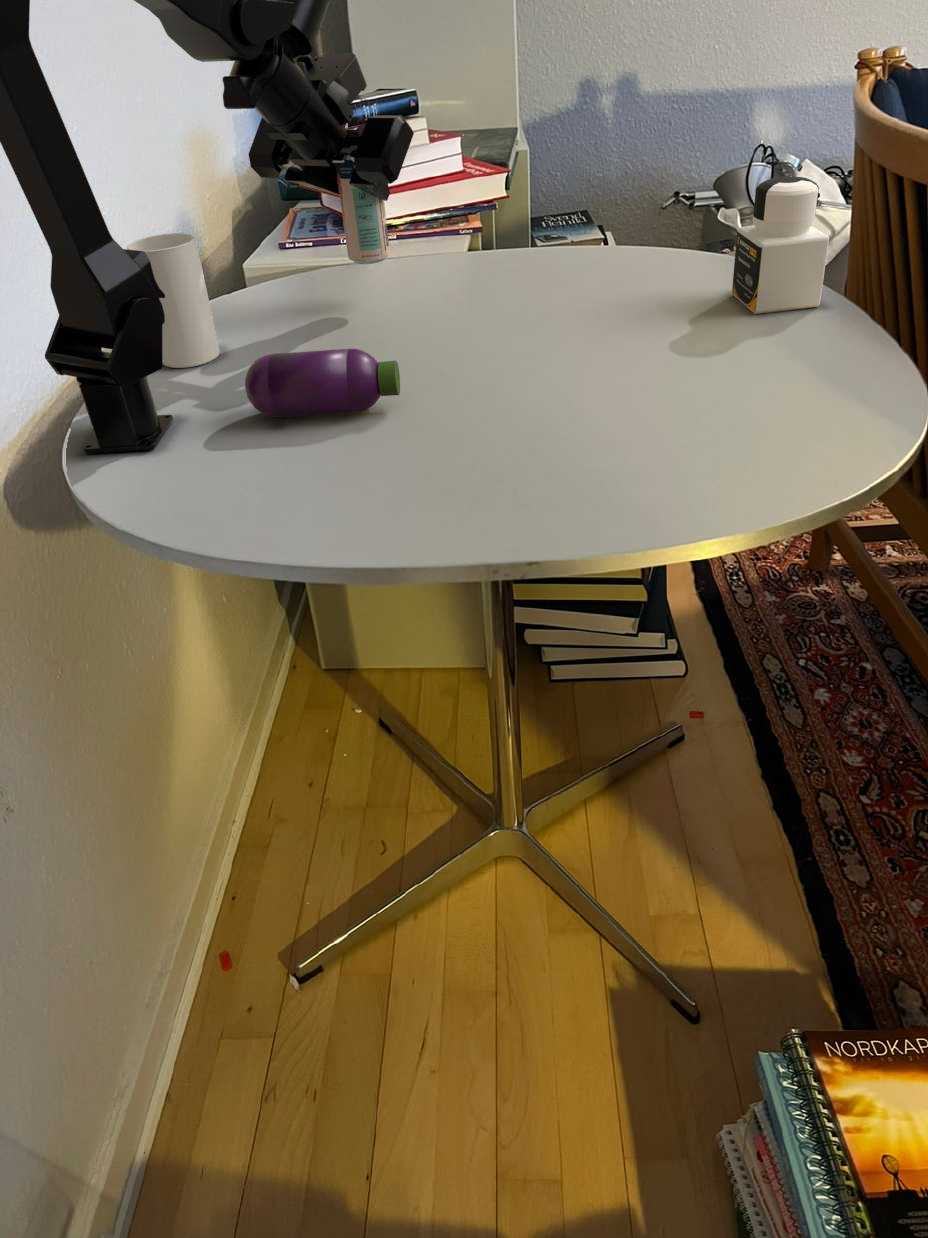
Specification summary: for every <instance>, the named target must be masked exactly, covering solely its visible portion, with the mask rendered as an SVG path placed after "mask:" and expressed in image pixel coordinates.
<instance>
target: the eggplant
mask: <svg viewBox="0 0 928 1238" xmlns="http://www.w3.org/2000/svg"><path fill="white" fill-rule="evenodd" d="M244 389H245V393H246V396H247V399H248V401H249V402H250V404H251V405H252V406H253V407H254V409H256V410H257V411H258V412H259V413H261V414H263V415H265V416H268V417H272V418H291V417H307V416H308V417H309V416H324V415H338V414H356V413H362V412H364V411H368V409H370V408H371V407H373V406H374V405H376V403H377V402H378V401H379V399H380V398H381V397H390V396H391V397H393V396H400V394H401V376H400V367H399V363H398V361H397V360H387V361H377V359H376V358H375V357H374V356H373V355H371V354H370V353H368V352H366V351H365V350H362V349H358V348H339V349H325V350H323V349H322V350H309V351H297V352H296V351H295V352H279V353H270V354H266V355H263V356H261V357H259V358H258V359H256V360H254V362H253V363H252V364H251V365H250V367H249V368H248V370H247V372H246V374H245V379H244Z"/></svg>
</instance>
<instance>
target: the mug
mask: <svg viewBox="0 0 928 1238" xmlns="http://www.w3.org/2000/svg"><path fill="white" fill-rule="evenodd" d="M126 249H127V250H138V251H144V252H145V253H146V255H147V257H148V259H149V260H150V263H151V267H152V271H153V275H154V278H155V281H156V282H157V284H158V286H159V288H160V289H161V290H162V292H163V293H164V294H165V298H160V301H161V303H162V306H163V310H164V313H165V323H164V324H163V325H162V365H164V366H166V367H168V368H172V369H173V368H174V369H185V368H192V367H197V366H201V365H204V364H205V365H206V364H207V363H210V362H211V361H214V360H215V359H216V358H217V357H218V356H219V355H220V353H221V352H220V347H219V342H218V341H219V340H218V337H217V332H216V331H217V330H216V326H215V322H214V317H213V313H212V307H211V303H210V299H209V294H208V289H207V285H206V281H205V276H204V271H203V266H202V262H201V258H200V257H201V256H200V253H199V249H198V246H197V241H196V237H195V235H194V234H191V233H187V232H186V233H185V232H170V233H169V232H168V233H161V234H155V235H150V236H146V237H143V238H140V239H137V240H134V241H132V242H131V243H129V244H127V246H126Z"/></svg>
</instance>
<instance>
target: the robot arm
mask: <svg viewBox="0 0 928 1238" xmlns="http://www.w3.org/2000/svg"><path fill="white" fill-rule="evenodd" d="M133 1H134V2H135V3H137V4H139V5H140V6H142V7H144V8H145V9H147V10H148V11H149V12H150V13H151V14H153V15H154V17H156V18H157V19H158V20H159V21H160V24H161V26H162V28H163V30H164V32H165V34H166V35H167V37H168V38H170V39H171V40H172V41H173V42H174V43H175V44H176V45H177V46H179V48H181V49H182V50H183V51H184V52H185V53H186V54H188V55H189V56H190V58H192V59H194V60H195V61H199V62H201V63H212V62H233V64H232V67H231V70H230V72H229V74H228V75H224V76H223V77H222V83H223V92H222V102H223V103H222V104H223V106H224V109H226V110H256V113H258V114H259V115H260V117H261V119H260V122H259V124H258V127H257V130H256V132H255V135H254V138H253V140H252V143H251V146H250V148H249V151H248V159H249V165H250V168H251V169H252V171H254V172H255V173H256V174H257V175H258V176H259V178H262V179H280V177H281V175H282V174H281V173H282V171H283V169H284V170H285V171H286V172H285V174H284V179H285V181H287V182H289V183H294V184H297V185H302V186H305V187H308V188H312V189H316V190H319V191H323V192H326V193H329V194H331V195H336V196H338V197H340V195H339V188H338V181H337V174H336V167H335V163H344V162H345V161H346V159H347V155H348V156H350V159H351V160H352V161H353V162H354V164H353V166H354V167H355V168H354V171H353V173H352V176H351V179H350V182H349V184H351V185H353V186H354V187H356V188H358V189H361V190H363V191H365V192H367V193H369V194H371V195H373V196H375V197H377V198H379V199H381V200H384V202H387V201H388V200H389V197H390V194H391V190H390V186H389V185H392V184H393V183H395V182H396V181H397V180H398V179H399V176H400V173H401V171H402V168H403V165H404V163H405V160H406V157H407V154H408V152H409V148H410V145H411V143H412V140H413V137H414V135H415V132H414V130H413V128H412V127H411V125H410V124H409V122H408V121H407V120H406V119H405V118H406V117H404V116H403V115H374V116H373V115H372V116H369V117H367V119H366V122H365V123H361V124H360V125H358V126H357V127H356V129H348V128H346V126H347V124H351V122H352V119H353V116H354V114H355V112H354V110H353V109H352V108H351V107H350V106H351V105H352V104H353V102H354V101H355V100H356V98H357V97H358V96H359V95H360V93H361V92H364V91H365V90H366V89H367V86H368V84H367V80H366V79H365V78H366V77H364V73H363V71H362V68H361V66H360V63H359V61H358V57H357V55H356V54H355V53H353V52H347V53H344V52H343V53H326V54H324V55H322V56H314V58H313V57H312V56H311V55H310V54H311V53H312V52H313V50H314V47H315V44H316V42H317V39H318V36H319V33H320V31H321V28H322V25H323V22H324V19H325V16H326V14H327V11H328V8H329V5H330V3H331V0H133ZM30 9H31V0H0V145H1V147H2V149H3V152H4V154H5V156H6V158H7V160H8V162H9V164H10V167H11V168H12V171H13V173H14V175H15V177H16V179H17V181H18V184H19V186H20V189H21V191H22V193H23V194H24V196H25V199H26V201H27V203H28V205H29V207H30V209H31V212H32V214H33V216H34V218H35V221H36V222H37V224H38V227H39V229H40V230H41V233H42V236H43V237H44V239H45V241H46V244H47V246H48V249H49V251H50V255H51V264H50V265H51V266H50V286H49V287H50V290H51V295H52V297H53V301H54V303H55V306H56V310H57V313H58V318H57V320H56V322H55V326H54V327H53V331H52V334H51V337H50V339H49V342H48V344H47V348H46V350H45V353H44V359H45V360H46V361H47V363H48V364H49V366H50V367H51V369H52V370H53V371H54V373H56V375H58V376H69V377H74V378H75V379H76V382H77V385H78V388H79V391H80V394H81V397H82V399H83V400H82V401H83V403H84V406H85V409H86V413H87V415H88V417H89V421H90V424H91V427H92V429H93V432H94V433H93V434H92V435H91V437H89V439H88V440H87V441H86V442H85V444H84V445H83V446H82V450H83V452H84V454H97V453H99V454H100V453H116V452H128V451H129V452H131V451H132V452H133V451H146V450H147V451H150V450H153V449H155V448H156V447H157V446H158V444H159V443H160V441H161V440H162V438H163V437H164V435H165V434H166V432H167V431H168V429H169V428H170V427H171V425H172V423H173V422H174V417H173V416H174V415H172V414H158V411H157V407H156V403H155V401H154V398H153V393H152V391H151V387H150V384H149V380H148V376H150V375H152V374H154V373H156V372H158V371H161V370H162V369H163V363H162V325H163V324H164V323H165V313H164V310H163V306H162V303H161V301H160V298H165V294H164V293H163V292H162V290H161V289H160V288H159V286H158V284H157V282H156V281H155V278H154V275H153V271H152V267H151V263H150V260H149V259H148V257H147V255H146V253H145V252H144V251H138V250H128V249H127V248H122V246H121V245H120V244H119V243H118V242H117V241H116V240H115V239H114V238H113V236H112V234H111V233H110V230H109V228H108V225H107V223H106V221H105V218H104V215H103V213H102V211H101V208H100V206H99V204H98V201H97V199H96V197H95V194H94V192H93V189H92V187H91V185H90V183H89V180H88V178H87V175H86V172H85V170H84V168H83V166H82V163H81V160H80V159H79V155H78V153H77V151H76V148H75V147H74V144H73V141H72V139H71V137H70V135H69V132H68V129H67V127H66V124H65V122H64V120H63V118H62V115H61V112H60V110H59V108H58V106H57V102H56V101H55V99H54V96H53V94H52V91H51V89H50V85H49V84H48V81H47V79H46V77H45V74H44V72H43V70H42V68H41V65H40V62H39V60H38V58H37V56H36V53H35V50H34V48H33V45H32V42H31V39H30V16H31V15H30V12H31V11H30ZM282 168H283V169H282ZM103 349H108V350H111V351H109V352H108V351H103Z"/></svg>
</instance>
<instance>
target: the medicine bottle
mask: <svg viewBox="0 0 928 1238" xmlns="http://www.w3.org/2000/svg"><path fill="white" fill-rule="evenodd" d="M819 189H820V186H819V185H818V184H817V182H815V181H814V180H812V179H809V178H807V177H803V176H779V177H773V178H772V177H771V178H768V179H766V180H764V181H762V182H760V183H759V184H758V185H757V186H756V188H755V192H754V202H753V203H754V204H753V213H752V225H747V226H740V227H738V228H737V230H736V239H735V251H734V252H735V253H734V265H733V273H732V274H733V276H732V286H731V287H732V288H731V294H732V296H734V297H735V298H736V299H737V300H738V301H740V302H741V303H742V304H743V305H744V306H745V307H746V308H747V309H748V310H749V311H751V312H752V313H753V314H754V315H760V314H766V313H774V312H775V313H776V312H783V311H792V310H801V309H809V308H817V307H819V306H820V304H821V299H822V293H823V285H824V278H825V271H826V265H827V257H828V251H829V250H828V249H829V243H830V237H829V236H828V235H827V234H825V233H824V232H822V231H820V230H819V229H817V228H815V227H814V226H813V225H814V224H815V221H816V214H817V213H816V212H817V205H818V197H819V192H820V191H819Z"/></svg>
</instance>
